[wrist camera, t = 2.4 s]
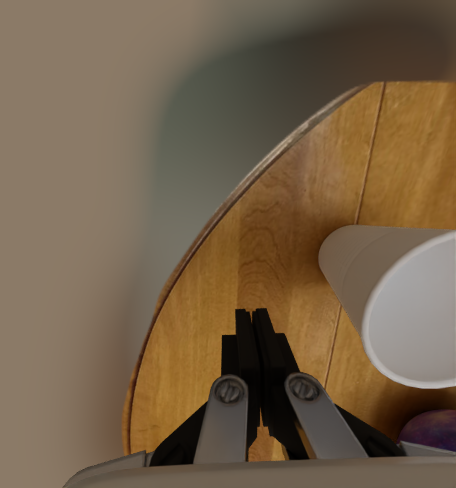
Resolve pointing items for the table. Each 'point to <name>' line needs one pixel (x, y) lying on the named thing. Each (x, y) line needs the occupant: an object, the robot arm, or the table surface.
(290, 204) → the table surface
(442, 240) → the cup
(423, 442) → the decorative orb
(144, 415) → the table surface
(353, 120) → the table surface
